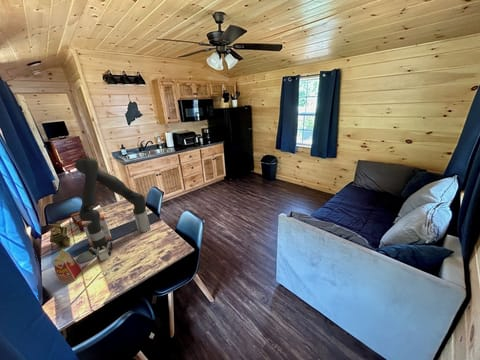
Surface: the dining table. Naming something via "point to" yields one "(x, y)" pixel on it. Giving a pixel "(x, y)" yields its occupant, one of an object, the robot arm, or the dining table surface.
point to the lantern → (77, 221)
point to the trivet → (86, 257)
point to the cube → (103, 255)
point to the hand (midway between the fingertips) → (105, 256)
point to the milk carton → (66, 267)
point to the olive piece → (60, 237)
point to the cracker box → (103, 226)
